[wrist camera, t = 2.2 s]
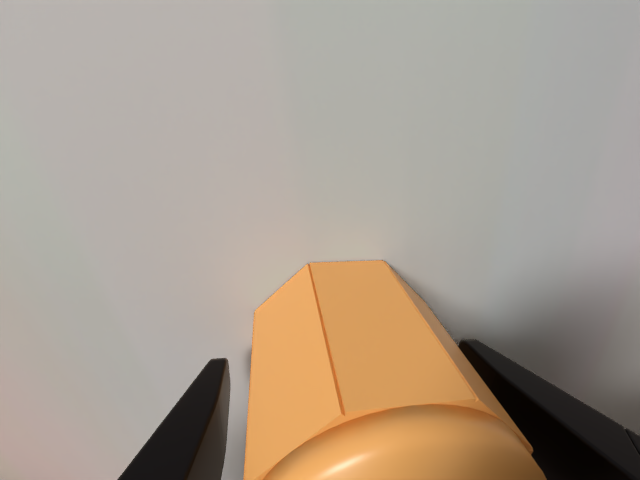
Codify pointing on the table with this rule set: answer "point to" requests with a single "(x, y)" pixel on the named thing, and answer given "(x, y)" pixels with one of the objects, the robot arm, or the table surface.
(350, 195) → the table surface
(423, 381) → the orange domed octagonal post
